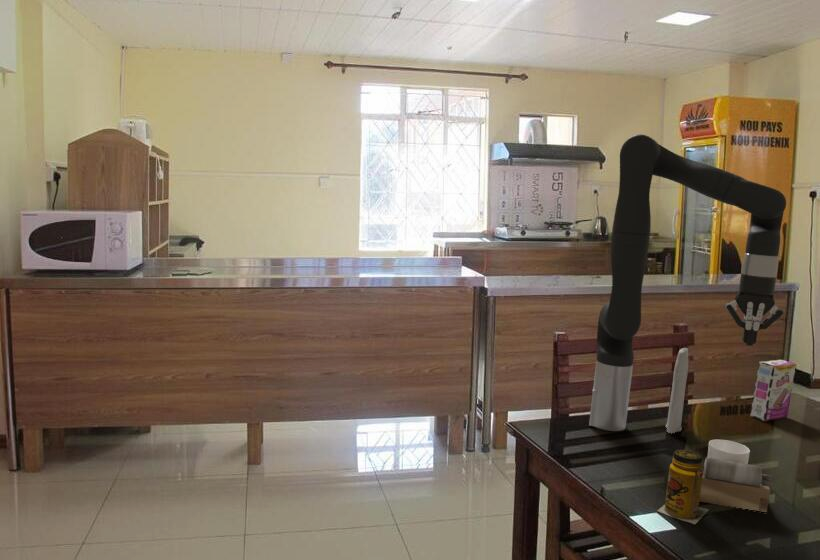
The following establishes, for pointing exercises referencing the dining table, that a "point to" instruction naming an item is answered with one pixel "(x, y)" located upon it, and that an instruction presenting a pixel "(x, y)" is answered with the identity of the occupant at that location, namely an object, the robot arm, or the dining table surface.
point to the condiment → (684, 487)
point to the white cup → (728, 451)
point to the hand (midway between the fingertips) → (748, 344)
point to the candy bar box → (773, 390)
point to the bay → (734, 485)
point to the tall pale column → (678, 392)
